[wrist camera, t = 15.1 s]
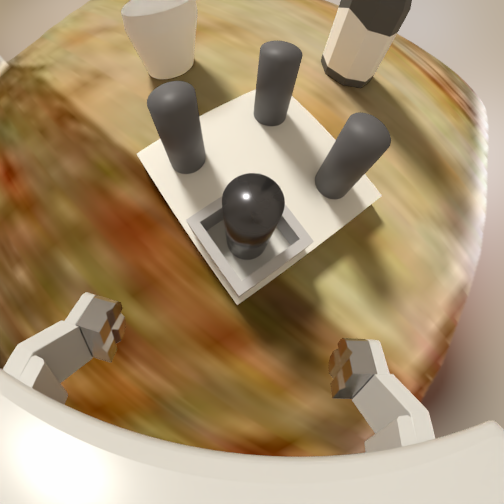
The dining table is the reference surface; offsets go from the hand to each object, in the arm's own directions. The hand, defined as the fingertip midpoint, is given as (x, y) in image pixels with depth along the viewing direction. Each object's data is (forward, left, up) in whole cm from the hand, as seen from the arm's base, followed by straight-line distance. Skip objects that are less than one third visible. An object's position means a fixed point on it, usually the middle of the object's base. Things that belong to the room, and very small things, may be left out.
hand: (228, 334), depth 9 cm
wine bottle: (+10, +36, -16) cm, 41 cm away
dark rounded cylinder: (0, +7, -13) cm, 15 cm away
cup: (-15, +31, -16) cm, 38 cm away
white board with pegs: (0, +14, -16) cm, 21 cm away
